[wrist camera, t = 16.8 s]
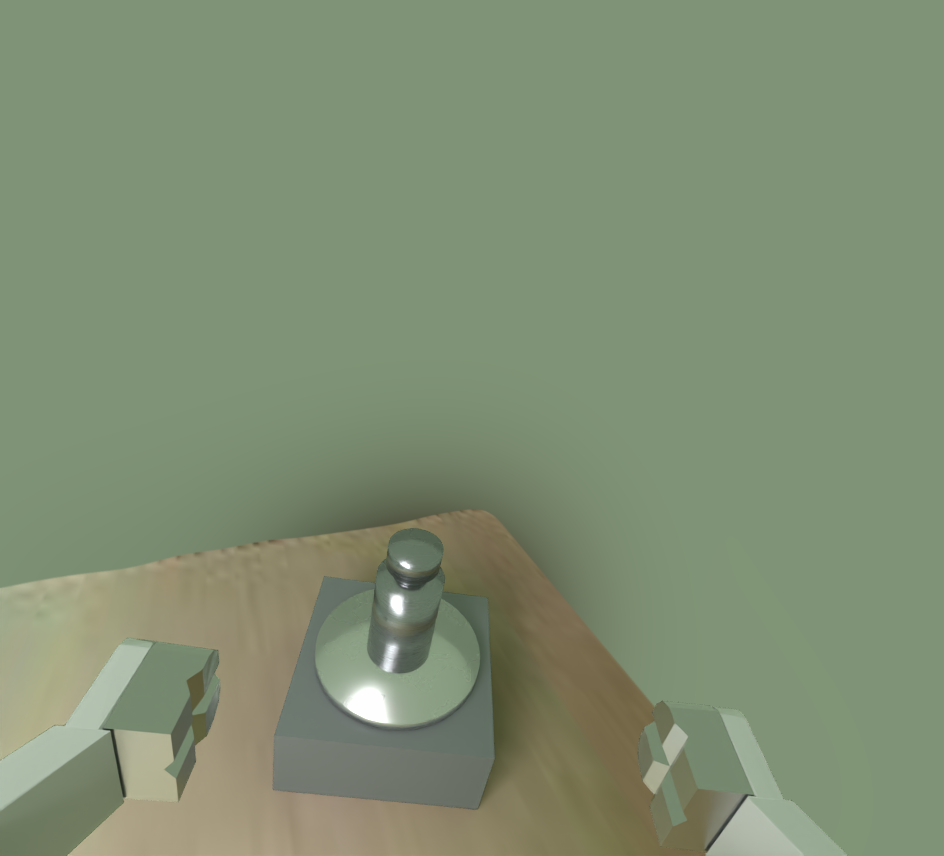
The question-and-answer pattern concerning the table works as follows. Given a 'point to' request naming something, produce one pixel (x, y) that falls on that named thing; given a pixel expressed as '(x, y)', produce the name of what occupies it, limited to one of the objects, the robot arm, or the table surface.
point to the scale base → (381, 751)
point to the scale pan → (391, 694)
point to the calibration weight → (406, 601)
